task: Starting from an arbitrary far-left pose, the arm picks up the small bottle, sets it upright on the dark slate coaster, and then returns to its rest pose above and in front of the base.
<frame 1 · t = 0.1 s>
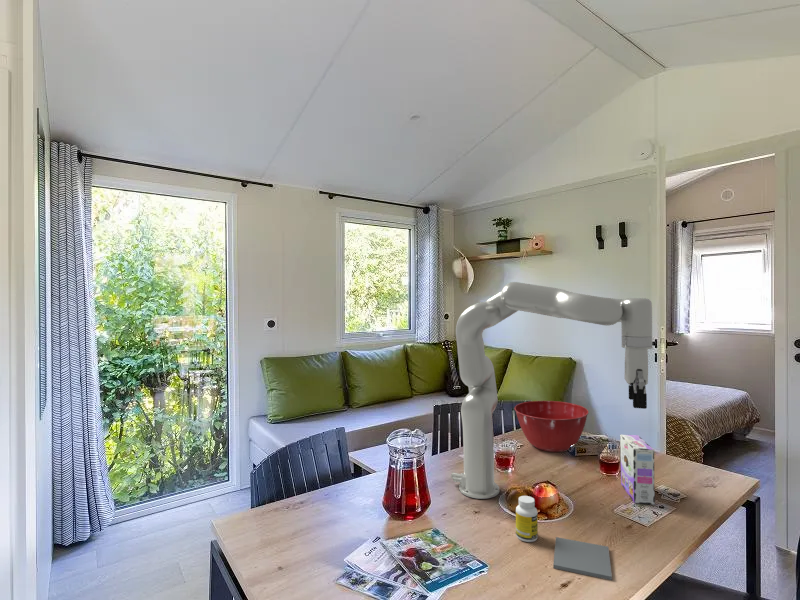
hand: (637, 403, 121), 31 cm above the table, tool pointing down, fingers open, 9 cm apart
mixing bowl: (551, 446, 177), on the table
supplement bottle: (526, 537, 112), on the table
candy box: (636, 494, 134), on the table
slate coaster: (581, 558, 102), on the table
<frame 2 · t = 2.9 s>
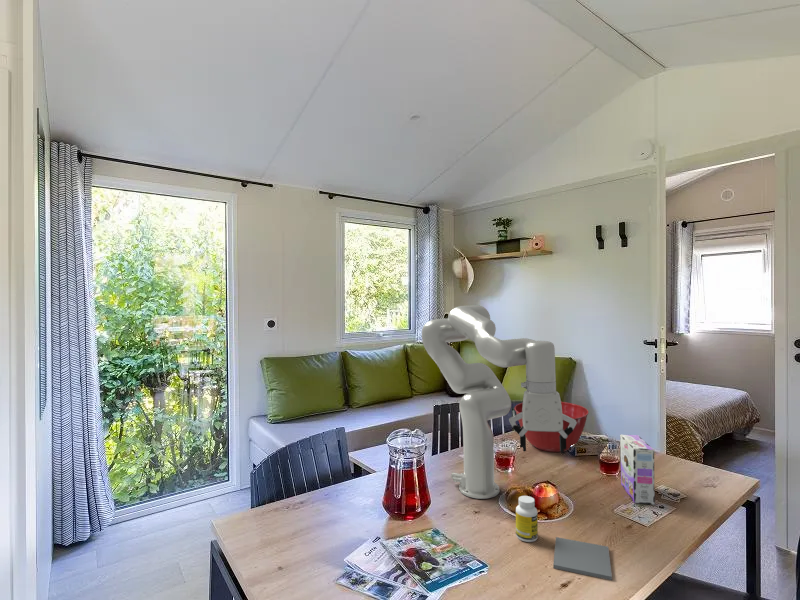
hand: (543, 450, 117), 20 cm above the table, tool pointing down, fingers open, 9 cm apart
nothing on the table moved.
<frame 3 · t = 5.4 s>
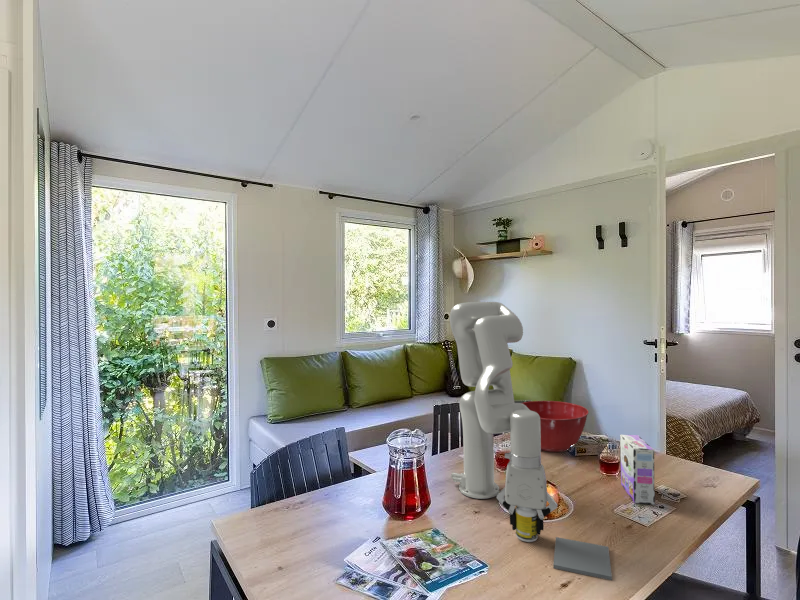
hand: (526, 529, 112), 2 cm above the table, tool pointing down, fingers closed on supplement bottle, 5 cm apart
supplement bottle: (526, 537, 112), on the table, touching gripper
everything else where it was.
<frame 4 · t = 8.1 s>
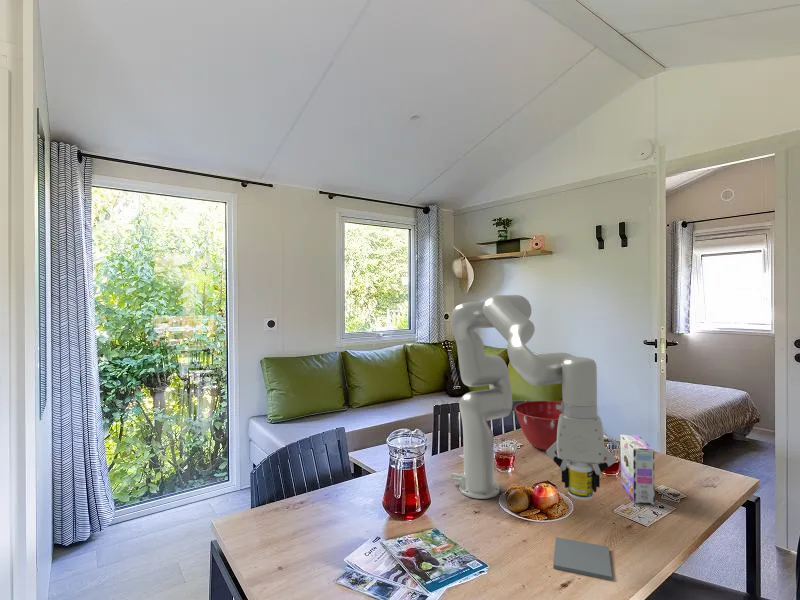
hand: (580, 486, 102), 17 cm above the table, tool pointing down, fingers closed on supplement bottle, 5 cm apart
supplement bottle: (580, 496, 102), point 15 cm above the table, touching gripper
everything else where it was.
when the fingers open (4 cm above the table, at t = 10.9 s): supplement bottle stays where it is, resting on slate coaster.
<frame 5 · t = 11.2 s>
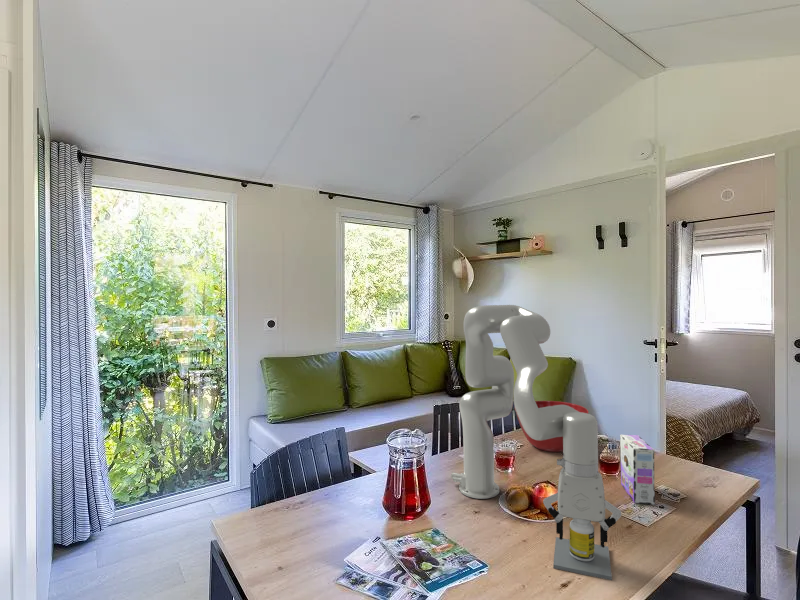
hand: (581, 540, 102), 4 cm above the table, tool pointing down, fingers open, 8 cm apart
supplement bottle: (582, 556, 102), point 1 cm above the table, touching slate coaster
everything else where it was.
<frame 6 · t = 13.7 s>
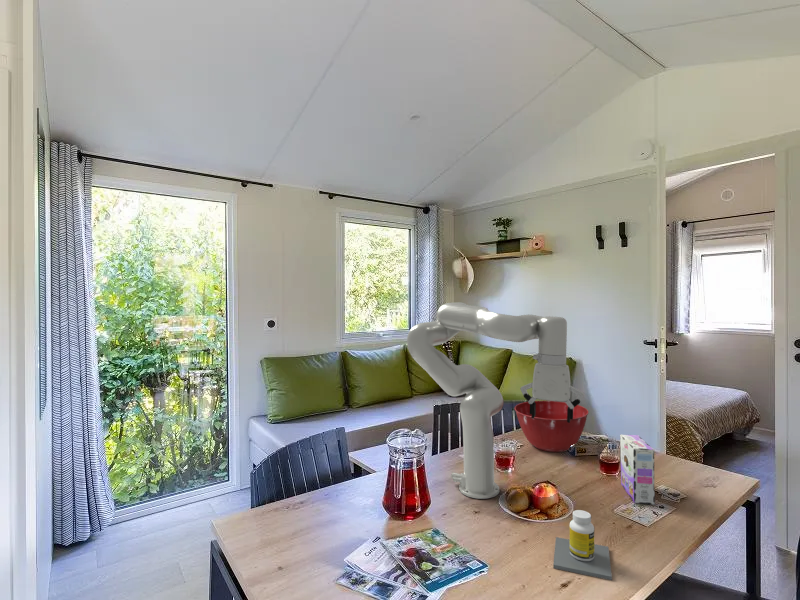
hand: (550, 419, 125), 26 cm above the table, tool pointing down, fingers open, 9 cm apart
nothing on the table moved.
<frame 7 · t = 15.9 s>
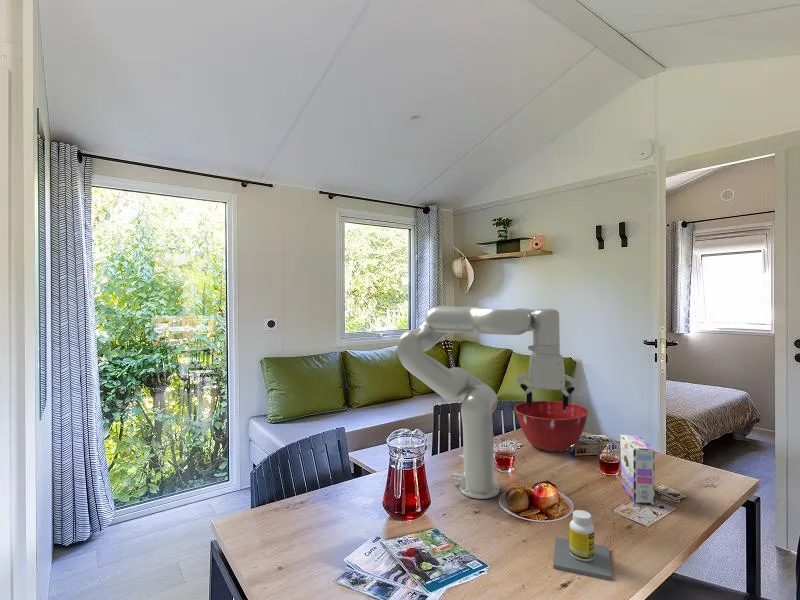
hand: (547, 407, 130), 28 cm above the table, tool pointing down, fingers open, 9 cm apart
nothing on the table moved.
at the end: supplement bottle inside the target area on the slate coaster (0.1 cm from its centre), point 0.6 cm above the slate coaster's base; supplement bottle tilted 0°; the gripper is holding nothing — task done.
